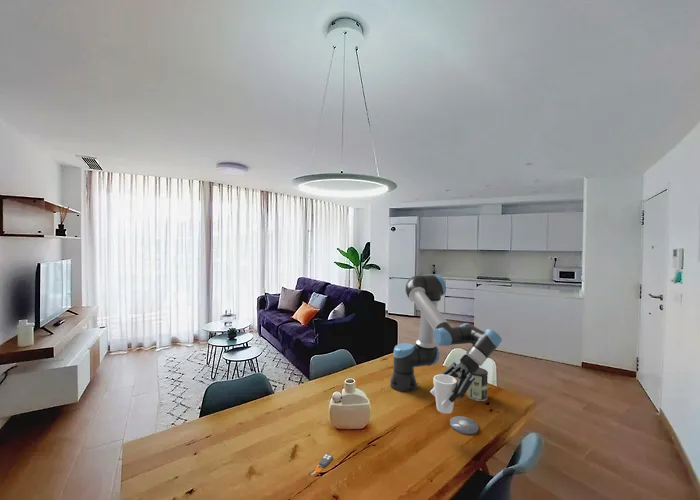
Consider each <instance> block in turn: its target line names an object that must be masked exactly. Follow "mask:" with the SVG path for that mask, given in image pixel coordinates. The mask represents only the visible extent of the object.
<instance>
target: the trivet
mask: <svg viewBox="0 0 700 500" xmlns="http://www.w3.org/2000/svg"><path fill="white" fill-rule="evenodd" d="M449 426H450V427H451V428H452V430H454V431H456V432H458V433H460V434H463V435H475V434H477V433H478V432H479V424H478V423H477V422H476V420H474V419H472V418H470V417H467V416H463V415H460V416H459V415H457V416H453V417H451V418H450V419H449Z"/></svg>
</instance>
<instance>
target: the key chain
mask: <svg viewBox="0 0 700 500" xmlns="http://www.w3.org/2000/svg"><path fill="white" fill-rule="evenodd" d="M333 458H334V456H333V455H332V454H330V453H325V454H324V455H323V456H322V458H321V459H320V461H319V463H318V465H316V468H315V469H314V471H313V472H311V474H309V475H312V476H313V475H314V474H316V473H317V474H319V473H321V472H322V468H323V469H324V468H325V467H327V466H328V465H329V463H330V462H331V461H332V460H333Z"/></svg>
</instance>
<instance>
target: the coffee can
mask: <svg viewBox="0 0 700 500" xmlns="http://www.w3.org/2000/svg"><path fill="white" fill-rule="evenodd" d="M472 375H473V376H474V378H475V380H474V381H473V382H472V383H471V385H470V386H469V388H468V390H467V391H466V396H467V397H468V398H469V399H471V400H473V401H476V402H485V401H488V378H489V377H488V375H489V373H488V371H487V370H486V369H485V368H482V367H479V369H478V370H477V371H476V372H475V373H473V372H472Z"/></svg>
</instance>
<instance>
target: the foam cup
mask: <svg viewBox="0 0 700 500" xmlns="http://www.w3.org/2000/svg"><path fill="white" fill-rule="evenodd" d="M457 382H458V379H457V377H455V378H454V377H452V376H449V375H444V374H441V373H440V374H436V375H434V376H433V388H434V389H435V396H434V398H435V405H436V410H437V411H438V412H439V413H442V414H446V415H447V414H451V413H453V410H454V404H455V401H454V402H452V403H451V404H450V405H449V406H448V408H447V409H446V408H445V407H444V406H443V405H442V404H441V403H442V402H443V401H444V400H445V399H446V397H447V396H448V395H449V394H450V393H451V392H452V391H454V390H455V387H456V384H457Z"/></svg>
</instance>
